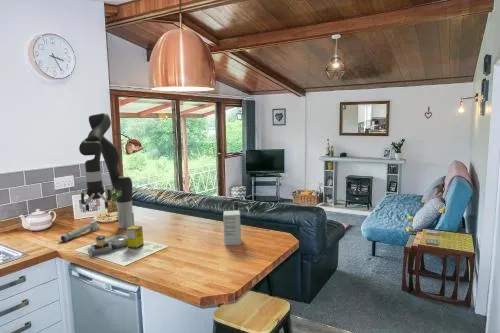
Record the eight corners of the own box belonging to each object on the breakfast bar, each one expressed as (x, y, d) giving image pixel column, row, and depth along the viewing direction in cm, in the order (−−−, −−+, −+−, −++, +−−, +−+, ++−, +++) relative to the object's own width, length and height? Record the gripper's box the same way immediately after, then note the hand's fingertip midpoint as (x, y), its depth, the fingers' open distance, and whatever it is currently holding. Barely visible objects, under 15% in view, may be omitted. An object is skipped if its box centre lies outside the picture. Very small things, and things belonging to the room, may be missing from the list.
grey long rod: (58, 235, 195) (93, 217, 217) (61, 245, 197) (95, 227, 219) (65, 236, 193) (99, 218, 215) (67, 246, 195) (101, 228, 216)
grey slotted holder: (125, 242, 191) (124, 234, 190) (129, 248, 180) (128, 241, 180) (88, 249, 181) (87, 241, 181) (90, 257, 171) (89, 248, 170)
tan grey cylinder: (105, 247, 182) (104, 235, 181) (106, 249, 178) (105, 237, 177) (96, 249, 180) (95, 236, 179) (97, 251, 176) (96, 239, 175)
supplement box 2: (241, 244, 181) (240, 214, 179) (224, 245, 181) (223, 215, 178) (240, 238, 191) (239, 209, 188) (224, 239, 190) (223, 210, 188)
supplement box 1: (143, 244, 186) (142, 225, 184) (137, 248, 180) (135, 229, 179) (135, 243, 188) (133, 225, 186) (127, 247, 182) (126, 228, 181)
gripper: (107, 177, 181) (110, 206, 184) (78, 180, 174) (81, 210, 177) (109, 179, 175) (112, 209, 177) (79, 182, 168) (83, 213, 170)
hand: (97, 209), depth 177 cm, fingers open, 8 cm apart
